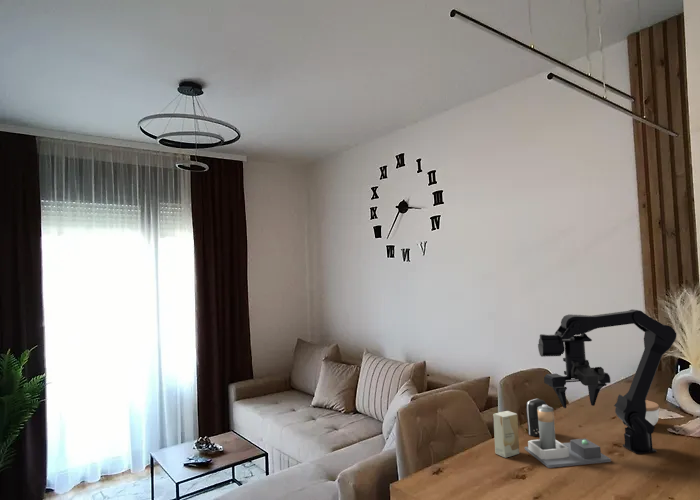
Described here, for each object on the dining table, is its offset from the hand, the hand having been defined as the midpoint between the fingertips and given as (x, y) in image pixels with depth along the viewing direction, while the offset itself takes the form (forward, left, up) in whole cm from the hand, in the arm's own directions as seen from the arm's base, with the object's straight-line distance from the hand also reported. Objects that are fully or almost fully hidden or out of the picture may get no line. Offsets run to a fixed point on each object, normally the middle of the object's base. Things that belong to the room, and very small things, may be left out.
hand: (578, 406), depth 143 cm
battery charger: (+6, -15, -13) cm, 21 cm away
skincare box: (+23, -2, -13) cm, 27 cm away
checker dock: (+7, +3, -13) cm, 15 cm away
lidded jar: (-31, -14, -13) cm, 37 cm away
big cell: (+12, +2, -12) cm, 17 cm away
